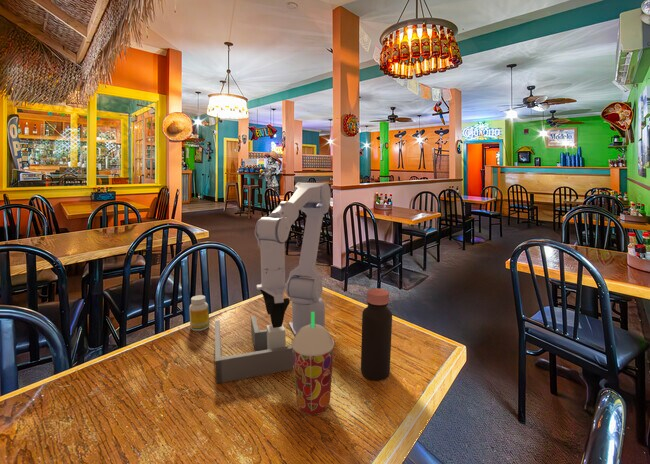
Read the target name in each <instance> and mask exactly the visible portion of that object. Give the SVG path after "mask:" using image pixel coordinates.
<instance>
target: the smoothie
mask: <svg viewBox="0 0 650 464" xmlns="http://www.w3.org/2000/svg"><path fill="white" fill-rule="evenodd" d="M290 346H292V353H293V375H294V377H293V378H294V389H295V400H296V404H297V405H298V407H299V409H300V411H302V413H305V414H306V415H313V416H314V415H319V414H322V413H323V412H325V410H326V409H327V407H328V405H329V404H330V402H331V401H330V400H331V392H332V390H331V389H332V379H333V364H334V349H335V340H334V339H333V338H332V336H331V333H330V332H329V331H328V330H327V328H324V327H323V326H321V325H318V324H315V312H311V324H308V325H305V326H304V327H302V328H301V329H300V330H299V331H298V332H297V334H296V335H294V338H293V339H292V341H291V345H290Z"/></svg>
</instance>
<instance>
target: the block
mask: <svg viewBox="0 0 650 464" xmlns="http://www.w3.org/2000/svg"><path fill="white" fill-rule="evenodd" d="M266 329H267V350H268V349H274V348H280V347H286V345H287V344H286V327H284V324H282V327H277V328H273V326H272V324H266Z"/></svg>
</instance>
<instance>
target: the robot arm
mask: <svg viewBox="0 0 650 464" xmlns="http://www.w3.org/2000/svg"><path fill="white" fill-rule="evenodd" d="M331 195H332V193H331V187H330V184H329V183H328V182H301V181H298V182H297V183H296V184H295V185H294V189H293V194H292V196H291V197H290V198H289V200H287V201H286V200H285V201H284V200H281V201H280V203H279V204H278V205H277V207H275V209H273V211H272V212H271V213H270V214H269V215H268V216H263V217H260V218H259V219H258V220H257V221H256V224H255V229H254V236H255V238H256V240H257V241H256V242H257V247H258V248H259V250H260V277H261V278H260V279H261V283H260V284H256V290H258V291H260V292H261V295H262V296H263V300H264V305H265V309H266V312H267V315H269V316H270V322H271V325H272V326H273V328H277V327H282V324H283V323H284V318H285V313H286V311H287V308H288V307H289V304H290V303H291V304H292V305H291V306H292V307H291V310H292V311H291V313H292V314H291V315H292V318H291V319H292V321H289V322H288V325H289V327H290V329H291V330H292V331H291V332H292V333H293V335H294V336H295V335H296V334H297V332H298V331H299V330H300V329H301V328H302V327H304V326H305V325H308V324H311V312H315V324H318V325H321V326H323V327H324V328H325V327H326V325H325V324H326V321H325V318H326V316H325V314H326V311H325V310H326V308H325V302H324V299H323V298H322V295H323V289H324V288H323V279H324V278H323V275H322V274H321V273H320V272H319V271H318V269H316V265H317V258H318V257H317V256H318V252H319V251H318V250H319V244H320V238H321V230H322V225H323V218H324V215H326V214H327V213H328V212H329V209H330V204H331V197H332V196H331ZM300 211H301V212H303V213H305V215H306V219H305V226H304V231H303V236H302V237H303V238H302V242H301V243H302V244H301V249H300V255H299V262H298V266H297V267H295V268H294V269H292V270H291V271H290V272H289V274H288V275H289V276H288V278H287V281H286V256H285V255H286V252H285V251H286V250H285V249H286V248H285V243H286V241H288V238H289V235H290V231H291V229H292V228H291V226H292V225H293V224H294V223H295V221H296V220H297V219H298V218H299V215H300V213H299V212H300ZM284 293H286V296H287V297H286V298H285V297H284ZM283 325H284V324H283ZM325 329H326V328H325Z"/></svg>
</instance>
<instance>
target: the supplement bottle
mask: <svg viewBox="0 0 650 464" xmlns="http://www.w3.org/2000/svg"><path fill="white" fill-rule="evenodd" d="M188 310H189V311H188V312H189V325H190V329H191V330H192V331H194V332H201V331H204V330H207V329H208V328H209V327H210V316H209V315H210V312H209V304H208V303H207V301H206V296H205V295H203V294H199V295H194V296H192V297H191V298H190V305H189V307H188Z"/></svg>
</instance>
